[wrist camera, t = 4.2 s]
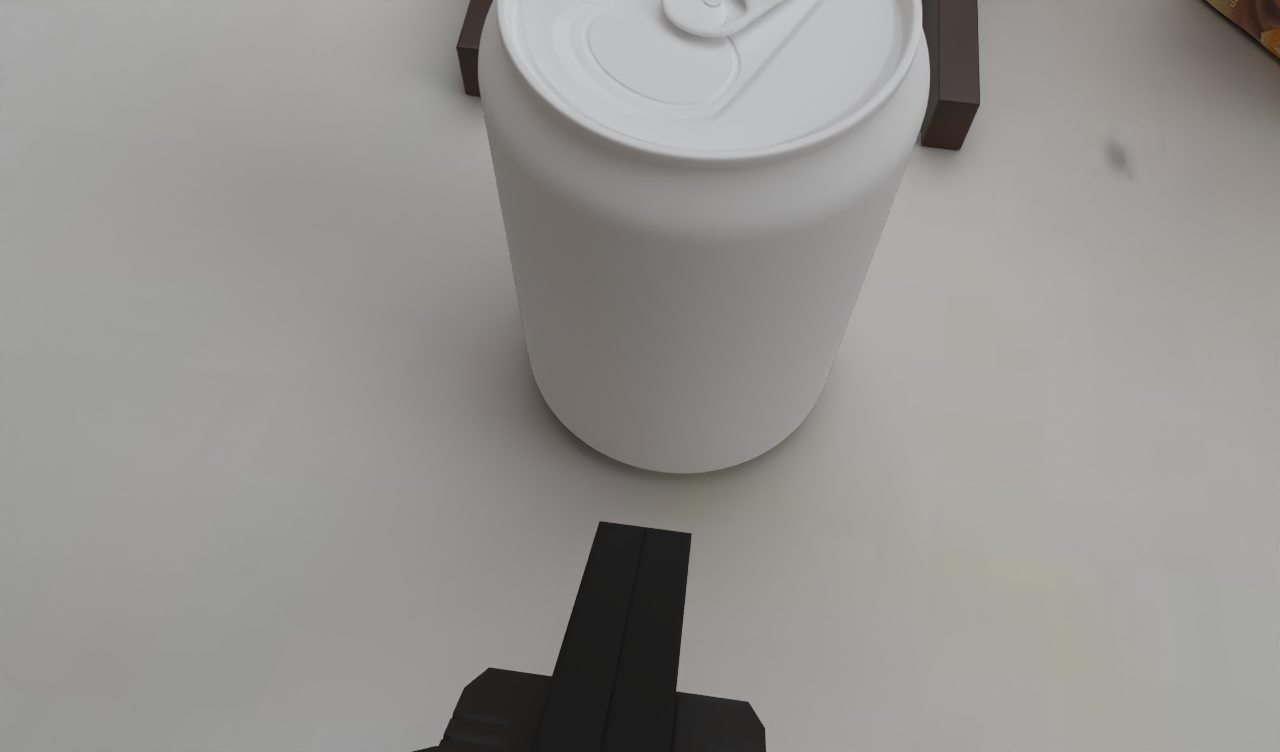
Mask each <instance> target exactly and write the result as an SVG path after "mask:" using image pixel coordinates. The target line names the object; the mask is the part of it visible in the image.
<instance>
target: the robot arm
mask: <svg viewBox="0 0 1280 752" xmlns="http://www.w3.org/2000/svg"><path fill="white" fill-rule="evenodd" d="M690 544H691V533H684V532H676V531H669V530H661V529H654V528H646V527H639V526H632V525H624V524H617V523H609V522H602V521H600V522H599V525H598V528H597V531H596V535H595V538H594V541H593V545H592V548H591V551H590V554H589V558H588V561H587V564H586V567H585V571H584V574H583V577H582V580H581V584H580V587H579V590H578V594H577V597H576V600H575V603H574V607H573V610H572V613H571V616H570V620H569V623H568V626H567V630H566V633H565V636H564V639H563V643H562V646H561V649H560V652H559V656H558V659H557V662H556V665H555V669H554V672H553V675H552V676H545V675H538V674H531V673H524V672H517V671H510V670H503V669H496V668H488V669H487V670H486V671H484V672H483V673H482V674H481V675H479V676H478V677H477V678H476V679H474V680H473V681H472V682H471V683H470V684H468V685H467V686H466V687H465V688H464V690H463V692H462V694H461V696H460V699H459V701H458V703H457V706H456V708H455V710H454V712H453V717H452V718H451V719H450V721H449V724H448V726H447V728H446V730H445V733H444V737H443V740H441V742H440V744H439V746H434V747H430V748H426V749H422V750H417V751H413V752H766V742H765V728H764V726H763V724H762V723H761V721H760V720H759V718H758V716H757V715H756V713H755V712H754V710H753V708H752V707H751V705H750V704H749V702H745V701H738V700H731V699H724V698H717V697H710V696H703V695H697V694H690V693H683V692H676V686H677V676H678V666H679V656H680V645H681V635H682V625H683V615H684V605H685V595H686V585H687V575H688V564H689V554H690Z"/></svg>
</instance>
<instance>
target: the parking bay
mask: <svg viewBox="0 0 1280 752" xmlns="http://www.w3.org/2000/svg"><path fill="white" fill-rule="evenodd" d="M492 2H493V0H470V4H469V7H468V10H467V14H466V17H465V20H464V23H463V27H462V30H461V33H460V37H459V40H458V43H457V47H456V48H457V53H458V58H459V63H460V68H461V73H462V78H463V83H464V88H465V93H466V94H468V95H477V96H481V95H480V89H479V81H478V54H479V46H480V40H481V34H482V30H483V27H484V23H485V20H486V17H487V14H488V11H489V9H490V7H491V4H492ZM922 27H923V31H924V34H925V38H926V42H927V47H928V53H929V63H930V88H929V97H928V103H927V108H926V112H925V116H924V119H923V123H922V125H921V145H922V146H931V147H940V148H949V149H958V150H959V149H961V147H962V144H963V142H964V140H965V137H966V135H967V133H968V131H969V128H970V126H971V124H972V121H973V119H974V117H975V115H976V112H977V110H978V108H979V105H980V85H979V47H978V9H977V0H923V6H922Z"/></svg>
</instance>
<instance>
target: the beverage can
mask: <svg viewBox="0 0 1280 752" xmlns="http://www.w3.org/2000/svg"><path fill="white" fill-rule="evenodd" d="M478 81H479V89H480V95H481V101H482V107H483V112H484V118H485V123H486V128H487V134H488V139H489V145H490V150H491V155H492V161H493V166H494V172H495V177H496V182H497V188H498V193H499V198H500V204H501V209H502V215H503V220H504V225H505V231H506V236H507V242H508V247H509V252H510V258H511V263H512V269H513V274H514V279H515V285H516V290H517V296H518V301H519V306H520V312H521V317H522V322H523V328H524V333H525V339H526V344H527V349H528V355H529V359H530V364H531V368H532V371H533V375H534V378H535V380H536V383H537V385H538V387H539V390H540V392H541V394H542V395H543V397H544V399H545V401H546V402H547V404H548V405H549V407H550V408H551V410H552V411H553V412H554V414H555V415H556V416H557V417H558V419H559V420H560V421H561V422H562V423H563V424H564V425H565V426H566V427H567V428H568V429H569V430H570V431H571V432H572V433H573V434H575V435H576V436H577V437H578V438H579V439H581V440H582V441H583V442H585V443H586V444H588V445H589V446H591V447H592V448H594V449H595V450H597V451H599V452H601V453H603V454H605V455H606V456H608V457H611V458H613V459H615V460H618V461H620V462H623V463H625V464H628V465H631V466H635V467H638V468H642V469H647V470H652V471H658V472H666V473H701V472H709V471H715V470H720V469H724V468H728V467H732V466H735V465H738V464H741V463H743V462H746V461H749V460H751V459H753V458H755V457H757V456H759V455H761V454H763V453H765V452H767V451H768V450H770V449H772V448H773V447H775V446H776V445H778V444H779V443H780V442H782V441H783V440H784V439H786V438H787V437H788V436H789V435H790V434H791V433H792V432H793V431H794V430H796V429H797V427H798V426H799V425H800V424H801V423H802V422H803V421H804V420H805V418H806V417H807V416H808V414H809V413H810V412H811V410H812V409H813V407H814V406H815V404H816V402H817V401H818V399H819V397H820V395H821V393H822V390H823V388H824V386H825V383H826V381H827V378H828V375H829V373H830V370H831V367H832V365H833V362H834V359H835V357H836V354H837V351H838V349H839V346H840V343H841V340H842V338H843V335H844V332H845V330H846V327H847V324H848V322H849V319H850V316H851V314H852V311H853V308H854V306H855V303H856V300H857V298H858V295H859V292H860V290H861V287H862V284H863V281H864V279H865V276H866V273H867V271H868V268H869V265H870V263H871V260H872V257H873V255H874V252H875V249H876V247H877V244H878V241H879V239H880V236H881V233H882V230H883V228H884V225H885V222H886V220H887V217H888V214H889V212H890V209H891V206H892V204H893V201H894V198H895V196H896V193H897V190H898V188H899V185H900V182H901V180H902V177H903V174H904V171H905V169H906V166H907V163H908V161H909V158H910V155H911V153H912V150H913V147H914V145H915V142H916V139H917V137H918V134H919V131H920V128H921V125H922V123H923V119H924V116H925V112H926V108H927V103H928V97H929V88H930V63H929V53H928V47H927V42H926V38H925V34H924V31H923V27H922V2H921V0H493V2H492V4H491V7H490V9H489V11H488V14H487V17H486V20H485V23H484V27H483V30H482V34H481V40H480V46H479V54H478Z"/></svg>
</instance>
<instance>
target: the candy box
mask: <svg viewBox="0 0 1280 752" xmlns="http://www.w3.org/2000/svg"><path fill="white" fill-rule="evenodd" d="M1206 1H1207V2H1208V3H1210V4H1211V5H1212V6H1213V7H1214V8H1215V9H1217V10H1218V11H1220V12H1221V13H1222V14H1224V15H1225V16H1226V17H1228V18H1229V19H1230V20H1231V21H1233V22H1234V23H1236V24H1237V25H1239V26H1240V27H1242V28H1243V29H1244V30H1246V31H1247V32H1248V33H1249V34H1251V35H1252V36H1253V37H1254V38H1256V39H1257V40H1258V41H1259V42H1260V43H1261V44H1262V45H1264V46H1265V47H1266V48H1267V49H1268V50H1269V51H1271V52H1272V53H1273V54H1274V55H1276V56H1277V57H1278V58H1279V59H1280V0H1206Z"/></svg>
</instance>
